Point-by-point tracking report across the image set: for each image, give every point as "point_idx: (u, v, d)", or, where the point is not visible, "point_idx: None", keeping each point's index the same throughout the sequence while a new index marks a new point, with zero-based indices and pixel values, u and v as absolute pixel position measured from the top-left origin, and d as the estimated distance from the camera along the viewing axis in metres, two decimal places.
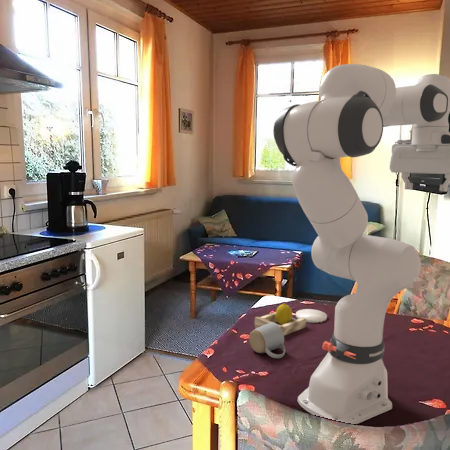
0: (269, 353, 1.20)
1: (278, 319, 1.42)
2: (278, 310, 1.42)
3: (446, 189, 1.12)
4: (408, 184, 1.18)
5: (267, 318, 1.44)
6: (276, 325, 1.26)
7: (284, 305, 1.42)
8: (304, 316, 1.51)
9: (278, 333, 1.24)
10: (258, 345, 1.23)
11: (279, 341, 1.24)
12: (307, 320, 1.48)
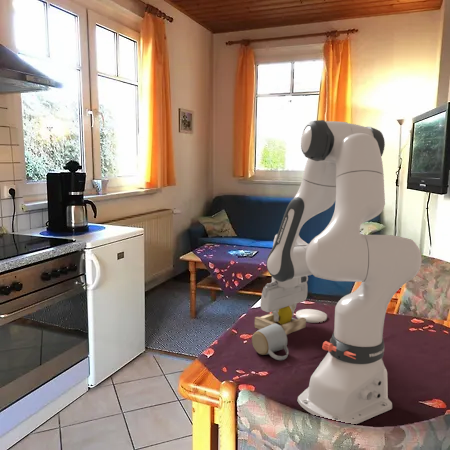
0: (272, 355, 1.19)
1: None
2: None
3: None
4: (279, 317, 1.41)
5: (267, 318, 1.44)
6: (279, 326, 1.25)
7: None
8: (304, 316, 1.51)
9: (281, 335, 1.23)
10: (261, 346, 1.21)
11: (282, 343, 1.23)
12: (307, 320, 1.48)
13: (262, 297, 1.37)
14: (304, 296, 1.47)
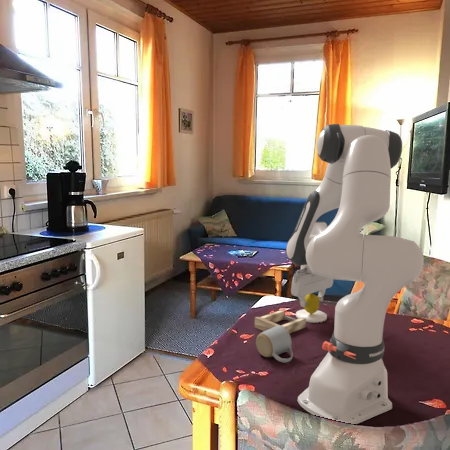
0: (276, 357, 1.18)
1: (306, 308, 1.50)
2: (306, 299, 1.51)
3: None
4: (306, 303, 1.48)
5: (267, 318, 1.44)
6: (283, 328, 1.23)
7: (311, 294, 1.51)
8: (304, 316, 1.51)
9: (285, 337, 1.21)
10: (265, 349, 1.20)
11: (286, 345, 1.21)
12: (307, 320, 1.48)
13: (293, 283, 1.45)
14: (330, 283, 1.55)
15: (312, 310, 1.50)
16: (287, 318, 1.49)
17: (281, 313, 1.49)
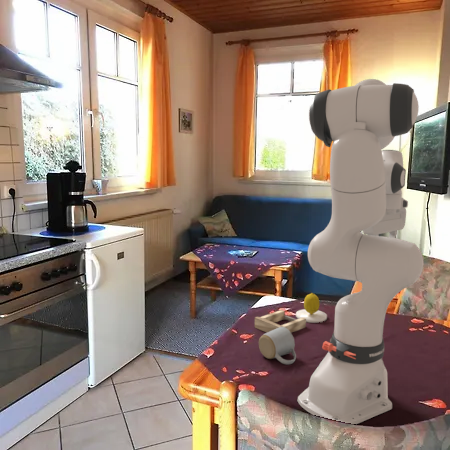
0: (279, 359, 1.17)
1: (306, 308, 1.50)
2: (306, 299, 1.51)
3: None
4: None
5: (267, 318, 1.44)
6: (286, 330, 1.22)
7: (312, 294, 1.51)
8: (304, 316, 1.51)
9: (288, 338, 1.20)
10: (268, 350, 1.19)
11: (289, 346, 1.20)
12: (307, 320, 1.48)
13: None
14: (402, 224, 1.38)
15: (312, 310, 1.50)
16: (287, 318, 1.49)
17: (281, 313, 1.49)
